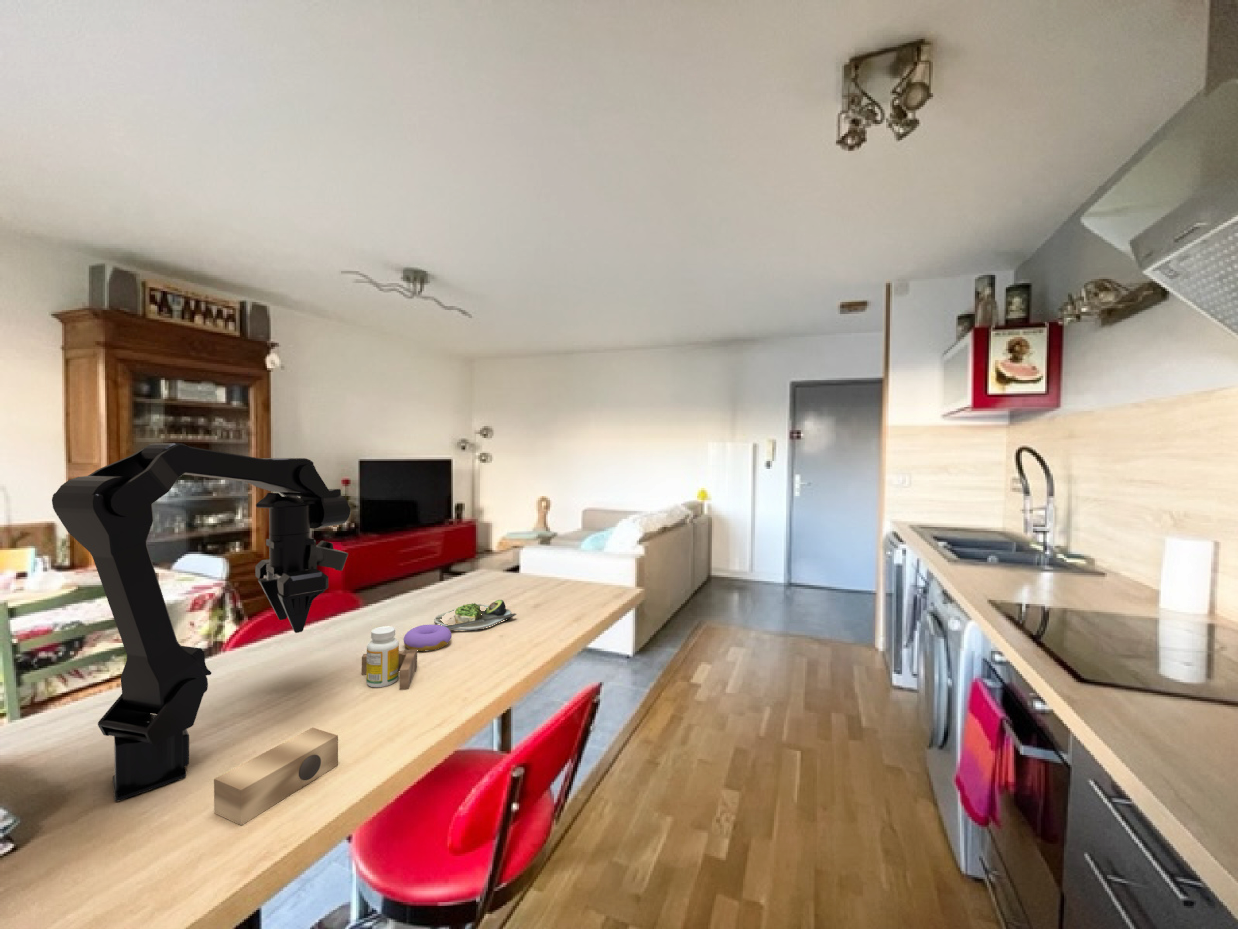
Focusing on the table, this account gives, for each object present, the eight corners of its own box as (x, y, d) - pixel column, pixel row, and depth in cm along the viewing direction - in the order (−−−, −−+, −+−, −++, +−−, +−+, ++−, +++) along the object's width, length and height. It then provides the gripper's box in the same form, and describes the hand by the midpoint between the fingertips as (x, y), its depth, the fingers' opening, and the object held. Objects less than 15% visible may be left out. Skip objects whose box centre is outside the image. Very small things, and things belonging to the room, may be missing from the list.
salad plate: (469, 642, 113) (469, 622, 113) (414, 629, 121) (414, 610, 121) (524, 618, 130) (524, 600, 130) (472, 608, 138) (472, 591, 138)
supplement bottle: (367, 690, 88) (368, 636, 88) (364, 679, 93) (365, 628, 93) (400, 683, 91) (401, 631, 91) (396, 672, 96) (396, 623, 96)
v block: (403, 691, 88) (403, 671, 88) (358, 674, 95) (358, 655, 95) (440, 674, 95) (440, 656, 95) (395, 659, 102) (395, 642, 102)
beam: (242, 826, 56) (242, 790, 56) (214, 813, 58) (214, 778, 58) (339, 765, 67) (339, 735, 67) (312, 756, 69) (312, 727, 69)
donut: (394, 652, 105) (396, 628, 106) (413, 645, 114) (415, 623, 115) (441, 653, 105) (443, 629, 106) (456, 646, 114) (458, 624, 115)
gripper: (362, 533, 83) (362, 626, 83) (324, 523, 96) (325, 604, 96) (284, 541, 75) (284, 645, 75) (254, 529, 88) (254, 617, 88)
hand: (290, 625), depth 84 cm, fingers open, 9 cm apart
